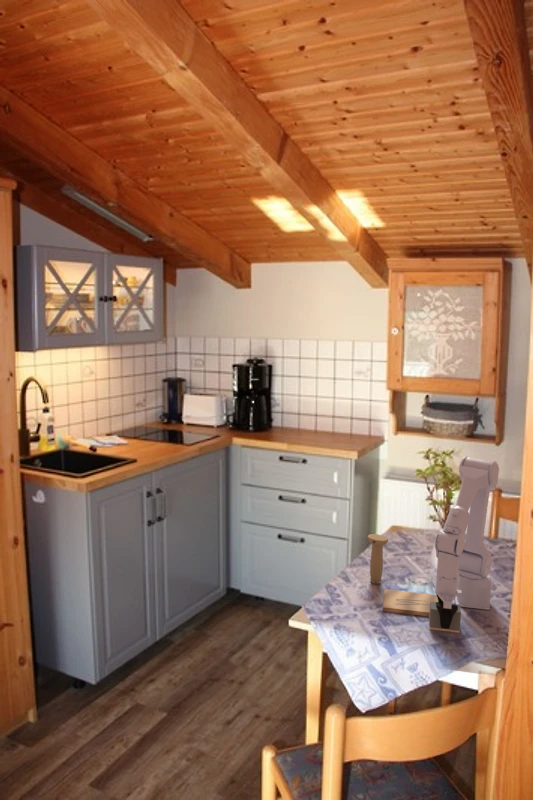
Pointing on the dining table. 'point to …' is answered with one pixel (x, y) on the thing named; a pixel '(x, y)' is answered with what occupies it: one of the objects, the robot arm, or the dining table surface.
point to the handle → (376, 557)
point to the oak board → (408, 602)
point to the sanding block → (435, 619)
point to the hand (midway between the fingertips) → (444, 621)
